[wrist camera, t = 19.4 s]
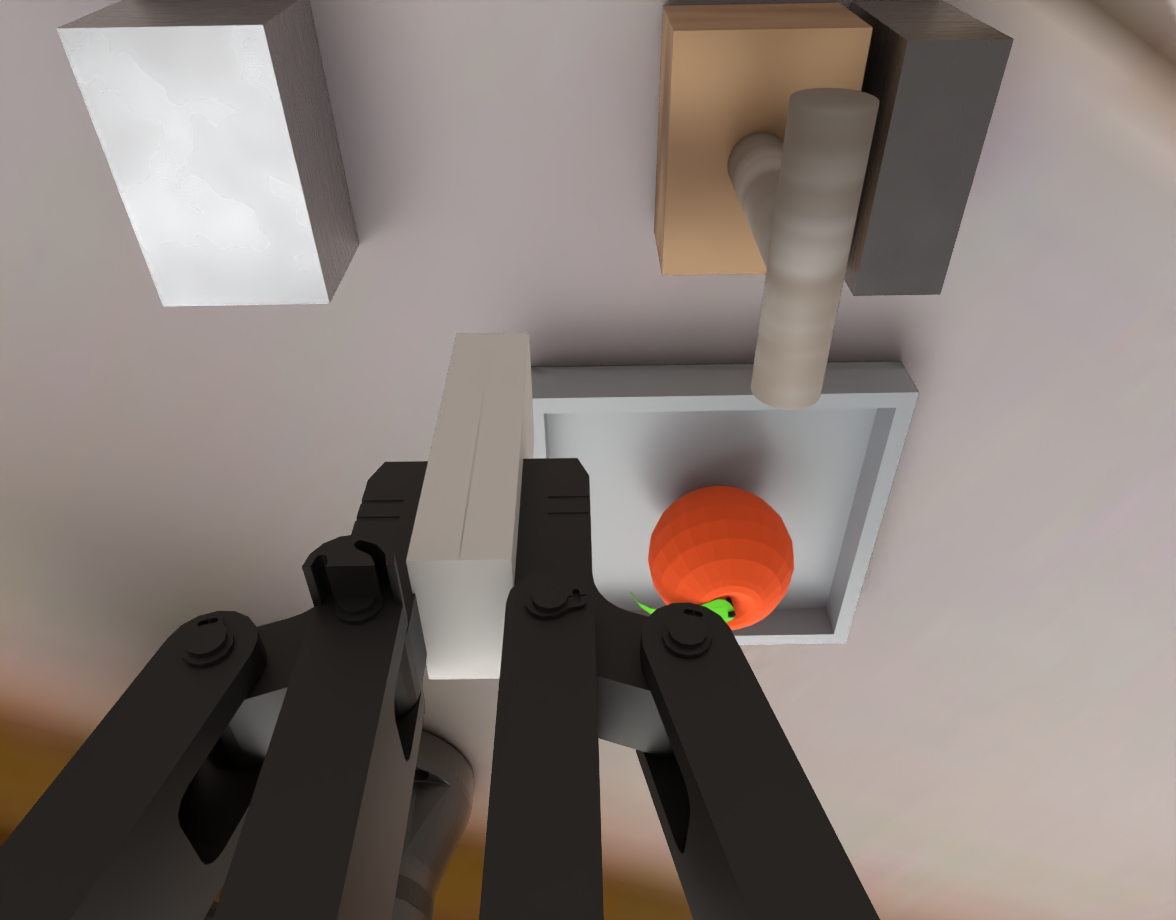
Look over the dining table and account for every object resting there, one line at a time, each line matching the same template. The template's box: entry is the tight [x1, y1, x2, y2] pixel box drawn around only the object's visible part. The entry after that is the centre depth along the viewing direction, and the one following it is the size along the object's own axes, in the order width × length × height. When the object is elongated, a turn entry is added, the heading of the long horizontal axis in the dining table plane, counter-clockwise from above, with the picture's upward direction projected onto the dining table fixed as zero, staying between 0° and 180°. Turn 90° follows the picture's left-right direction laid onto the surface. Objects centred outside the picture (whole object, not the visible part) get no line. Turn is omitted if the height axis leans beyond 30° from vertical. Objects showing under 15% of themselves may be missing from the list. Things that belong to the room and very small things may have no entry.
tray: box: [531, 361, 919, 645], centre depth 41 cm, size 17×17×2 cm
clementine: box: [630, 486, 794, 630], centre depth 39 cm, size 8×7×7 cm
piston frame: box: [57, 0, 1013, 306], centre depth 28 cm, size 9×28×6 cm, turn 91°
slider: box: [654, 3, 880, 410], centre depth 25 cm, size 8×6×12 cm
